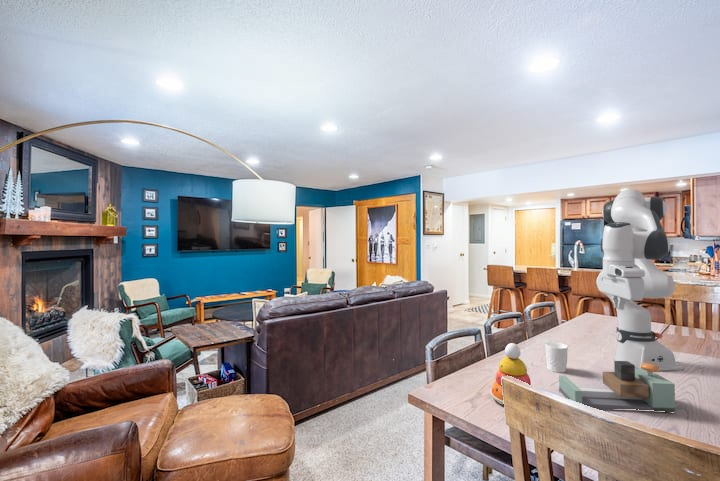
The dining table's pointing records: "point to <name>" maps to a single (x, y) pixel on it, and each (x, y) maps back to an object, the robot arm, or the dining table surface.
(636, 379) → the carriage
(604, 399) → the rail base
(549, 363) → the white cup
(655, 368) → the gauge button
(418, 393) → the dining table surface
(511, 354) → the stacking toy
